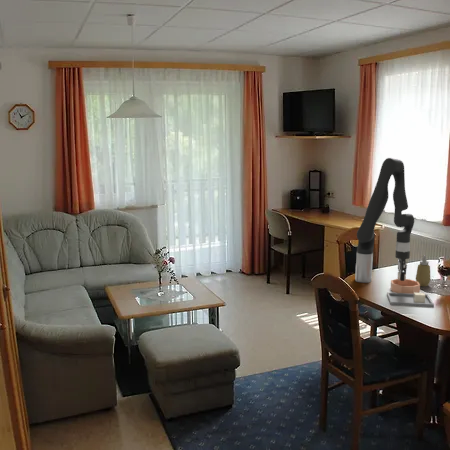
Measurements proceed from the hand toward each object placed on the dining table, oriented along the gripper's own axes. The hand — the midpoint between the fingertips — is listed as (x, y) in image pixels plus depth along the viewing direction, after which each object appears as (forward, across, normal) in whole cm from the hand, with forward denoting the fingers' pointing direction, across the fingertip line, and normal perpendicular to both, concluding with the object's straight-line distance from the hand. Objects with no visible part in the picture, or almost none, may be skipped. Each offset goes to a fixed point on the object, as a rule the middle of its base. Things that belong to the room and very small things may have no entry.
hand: (401, 279), depth 284 cm
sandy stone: (+6, +18, +6) cm, 20 cm away
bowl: (+7, 0, +2) cm, 7 cm away
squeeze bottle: (+7, -12, +14) cm, 20 cm away
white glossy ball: (0, 0, 0) cm, 0 cm away
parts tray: (+7, +18, +1) cm, 20 cm away
